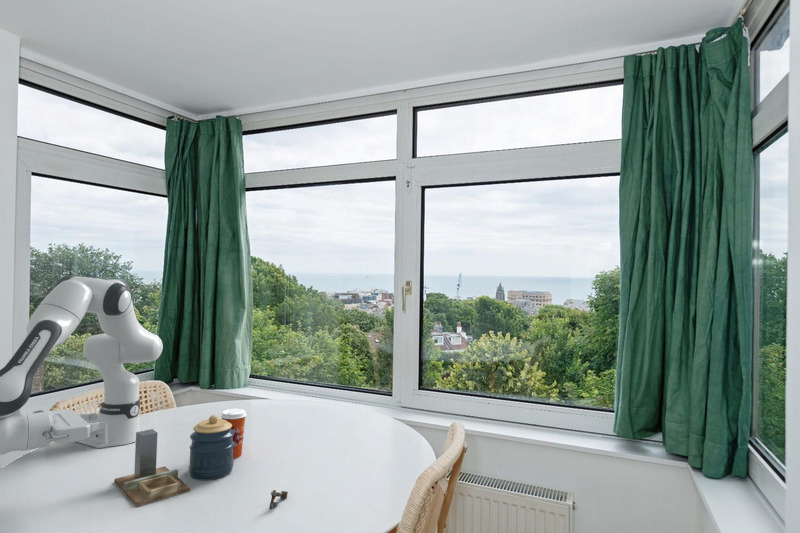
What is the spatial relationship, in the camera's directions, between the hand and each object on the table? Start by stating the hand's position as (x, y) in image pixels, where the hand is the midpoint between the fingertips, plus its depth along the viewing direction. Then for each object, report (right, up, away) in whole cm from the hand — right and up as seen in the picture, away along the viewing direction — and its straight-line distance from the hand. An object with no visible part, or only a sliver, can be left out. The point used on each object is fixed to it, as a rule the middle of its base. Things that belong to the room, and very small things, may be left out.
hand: (101, 420), depth 133 cm
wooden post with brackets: (+51, -22, -4) cm, 55 cm away
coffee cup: (+26, -22, +29) cm, 45 cm away
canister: (+25, -21, +15) cm, 36 cm away
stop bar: (+8, -19, +8) cm, 23 cm away
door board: (+12, -20, +4) cm, 24 cm away
